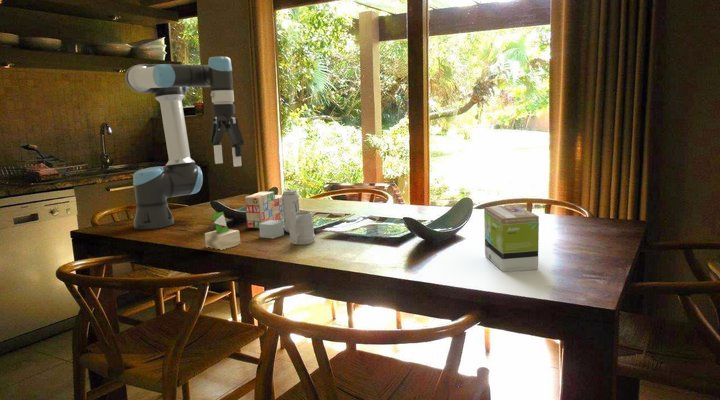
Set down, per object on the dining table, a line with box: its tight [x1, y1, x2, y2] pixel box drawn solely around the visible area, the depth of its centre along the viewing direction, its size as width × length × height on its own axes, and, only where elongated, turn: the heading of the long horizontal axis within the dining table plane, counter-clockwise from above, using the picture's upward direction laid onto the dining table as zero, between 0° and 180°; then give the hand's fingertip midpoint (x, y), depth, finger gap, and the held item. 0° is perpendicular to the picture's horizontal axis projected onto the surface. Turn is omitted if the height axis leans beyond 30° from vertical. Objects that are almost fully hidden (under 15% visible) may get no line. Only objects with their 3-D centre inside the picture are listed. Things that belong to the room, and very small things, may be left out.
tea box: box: [483, 204, 540, 273], centre depth 140 cm, size 15×10×15 cm, turn 5°
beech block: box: [204, 228, 241, 251], centre depth 173 cm, size 8×8×5 cm
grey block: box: [258, 220, 285, 239], centre depth 184 cm, size 6×6×5 cm
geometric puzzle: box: [208, 211, 233, 234], centre depth 173 cm, size 7×7×8 cm
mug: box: [288, 210, 316, 246], centre depth 171 cm, size 8×12×12 cm, turn 156°
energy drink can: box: [281, 189, 301, 233], centre depth 189 cm, size 6×6×15 cm
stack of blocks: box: [244, 191, 284, 229], centre depth 207 cm, size 21×6×12 cm, turn 160°
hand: (228, 164), depth 182 cm, fingers open, 13 cm apart
